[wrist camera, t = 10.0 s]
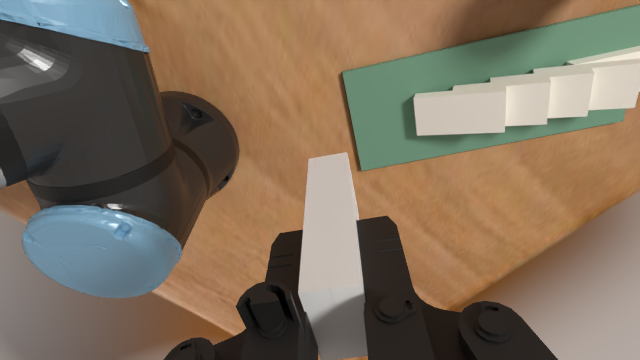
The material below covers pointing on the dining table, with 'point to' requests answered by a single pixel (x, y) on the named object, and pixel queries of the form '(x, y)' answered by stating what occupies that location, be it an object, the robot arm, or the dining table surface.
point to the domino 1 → (461, 111)
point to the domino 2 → (522, 100)
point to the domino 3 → (564, 91)
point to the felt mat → (472, 68)
